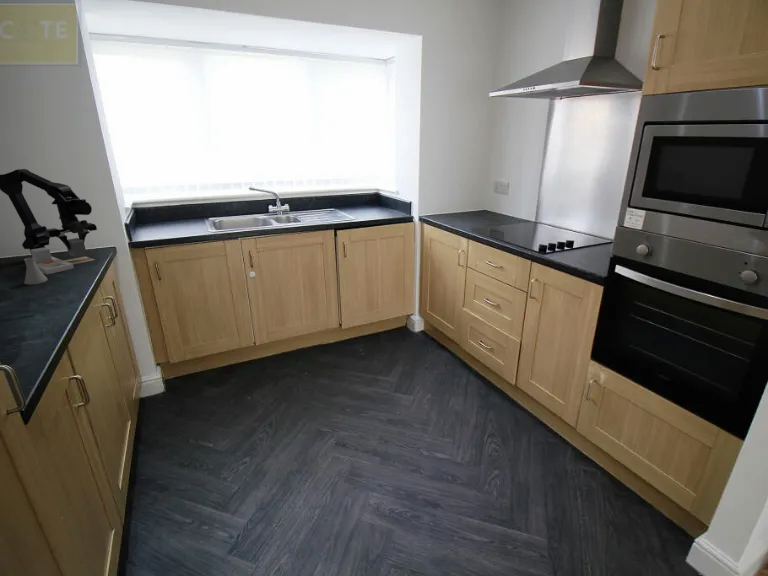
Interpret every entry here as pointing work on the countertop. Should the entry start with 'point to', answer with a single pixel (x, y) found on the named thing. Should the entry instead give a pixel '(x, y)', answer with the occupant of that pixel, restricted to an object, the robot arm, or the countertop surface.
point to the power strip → (54, 266)
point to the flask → (33, 273)
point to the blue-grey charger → (41, 255)
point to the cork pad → (79, 260)
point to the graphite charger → (76, 247)
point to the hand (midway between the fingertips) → (76, 248)
